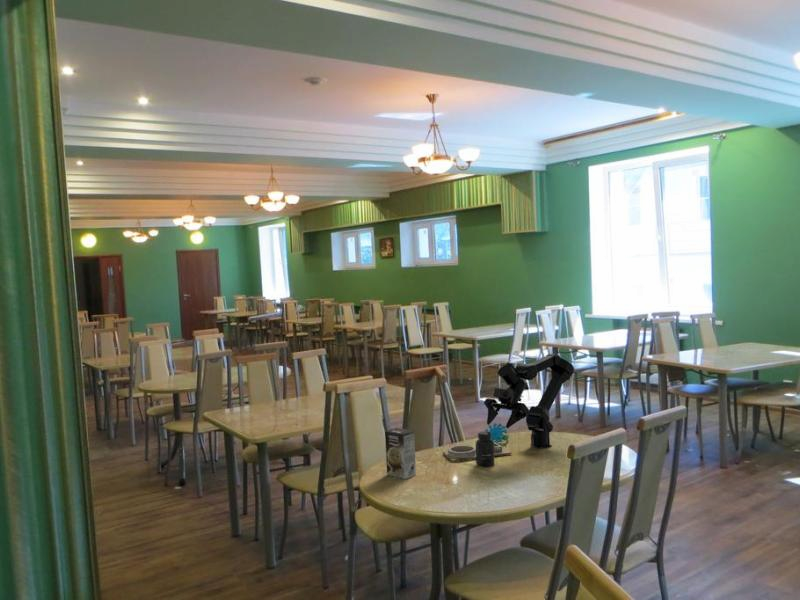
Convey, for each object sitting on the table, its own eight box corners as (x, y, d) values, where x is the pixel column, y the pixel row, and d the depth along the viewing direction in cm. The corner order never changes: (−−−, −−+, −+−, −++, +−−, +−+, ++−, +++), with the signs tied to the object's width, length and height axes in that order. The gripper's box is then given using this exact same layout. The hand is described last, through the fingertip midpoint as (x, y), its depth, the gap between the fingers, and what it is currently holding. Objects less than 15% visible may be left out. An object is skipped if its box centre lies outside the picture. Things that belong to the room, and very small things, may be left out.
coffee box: (386, 475, 239) (383, 431, 239) (398, 470, 244) (396, 427, 243) (404, 479, 233) (402, 434, 232) (416, 474, 238) (414, 430, 237)
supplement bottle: (486, 468, 241) (484, 436, 240) (472, 465, 246) (471, 433, 245) (498, 464, 245) (497, 432, 245) (484, 461, 250) (483, 429, 250)
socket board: (499, 447, 268) (499, 440, 268) (511, 454, 257) (511, 447, 257) (443, 454, 262) (442, 446, 262) (453, 462, 251) (452, 454, 251)
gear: (479, 439, 277) (490, 419, 281) (484, 446, 281) (495, 426, 285) (501, 446, 270) (512, 426, 274) (506, 453, 273) (516, 433, 278)
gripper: (485, 377, 260) (467, 410, 253) (523, 381, 246) (506, 416, 239) (499, 394, 265) (482, 427, 259) (537, 399, 251) (520, 434, 245)
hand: (497, 425), depth 250 cm, fingers open, 9 cm apart
